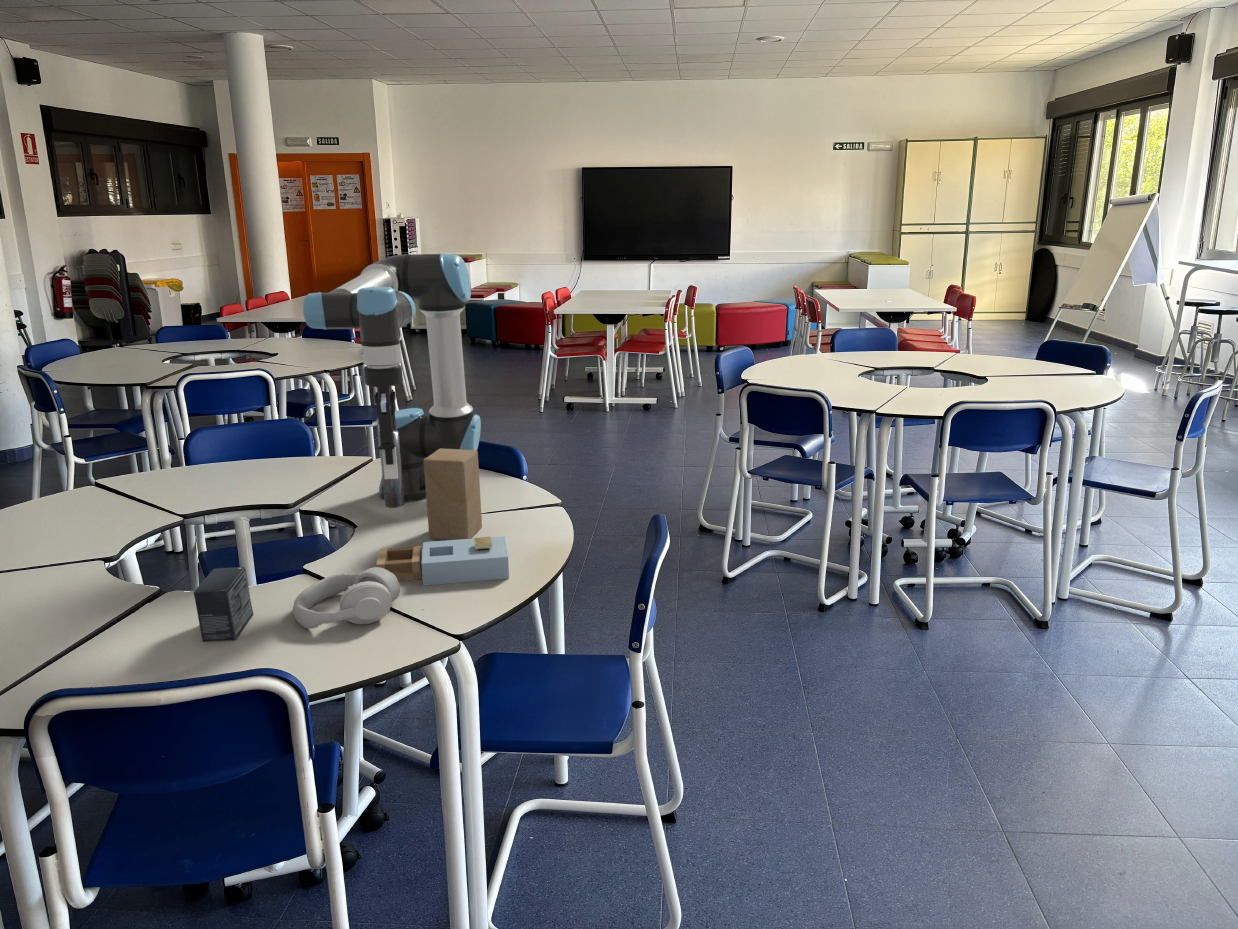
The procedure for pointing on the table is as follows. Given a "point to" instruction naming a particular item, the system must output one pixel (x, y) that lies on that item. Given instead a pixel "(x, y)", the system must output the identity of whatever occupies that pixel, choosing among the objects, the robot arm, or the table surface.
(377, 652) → the table surface
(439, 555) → the socket block
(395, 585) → the headphones
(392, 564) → the rack
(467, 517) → the wooden block
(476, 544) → the small square tan block
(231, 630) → the small box
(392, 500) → the cylinder
